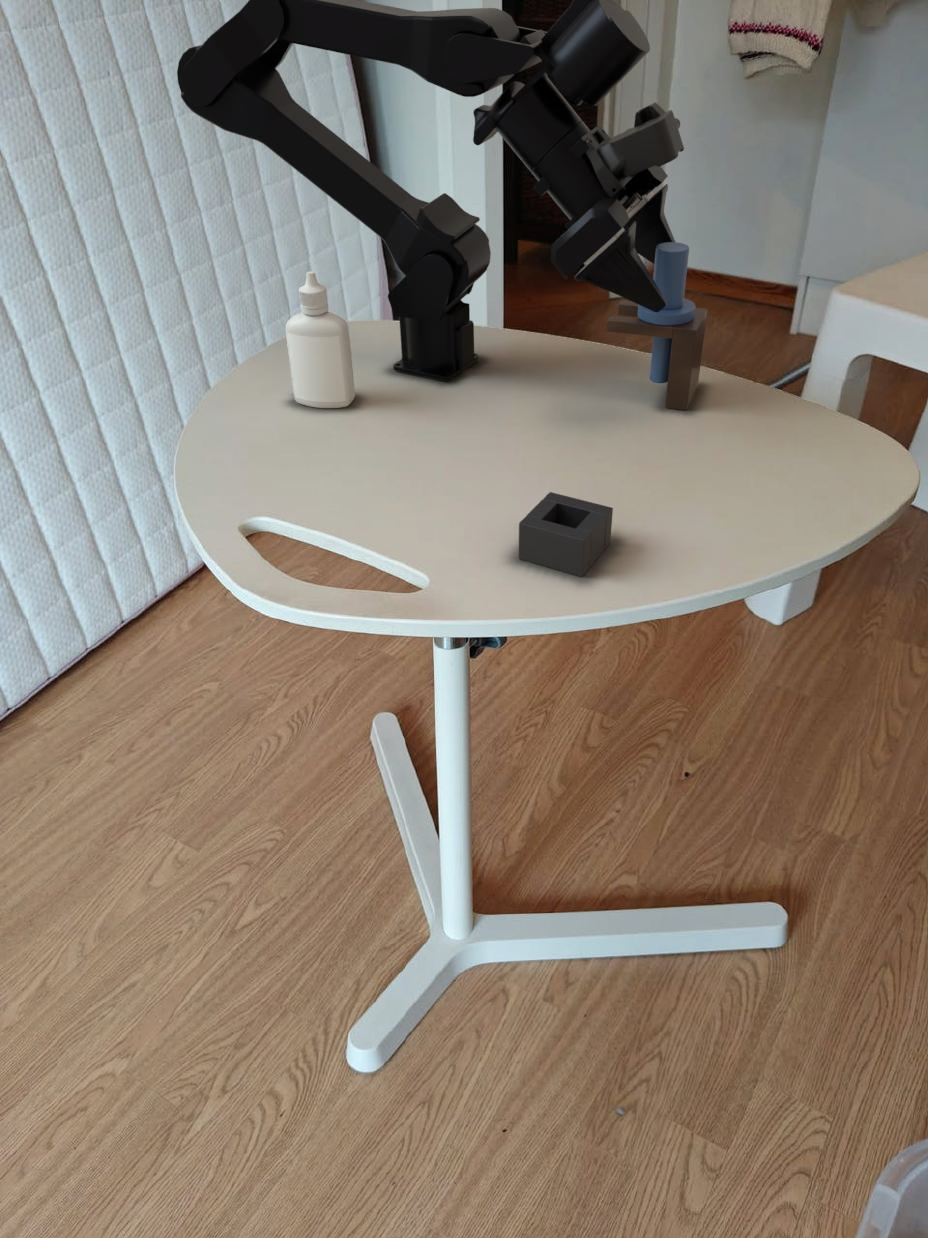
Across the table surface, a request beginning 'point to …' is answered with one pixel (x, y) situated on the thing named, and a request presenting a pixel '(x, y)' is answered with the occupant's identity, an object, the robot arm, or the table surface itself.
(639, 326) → the stand
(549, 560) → the holder
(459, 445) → the table surface
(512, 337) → the table surface
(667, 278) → the peg
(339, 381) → the eye dropper bottle
